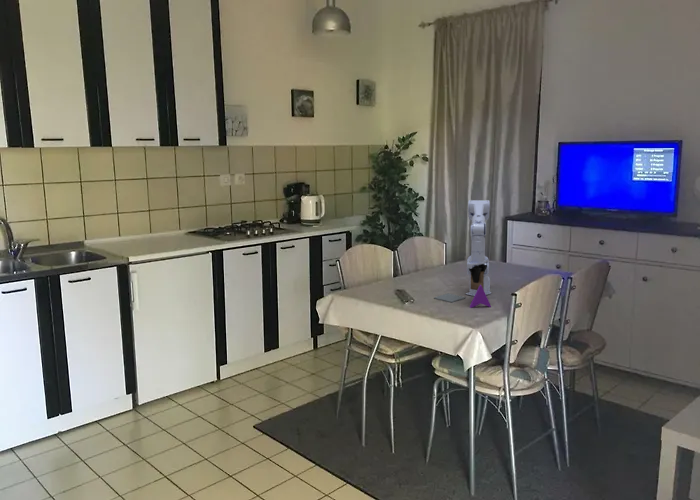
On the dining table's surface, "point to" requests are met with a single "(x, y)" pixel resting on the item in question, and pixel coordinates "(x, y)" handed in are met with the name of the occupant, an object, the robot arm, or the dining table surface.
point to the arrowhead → (480, 298)
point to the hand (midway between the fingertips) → (477, 281)
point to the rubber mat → (449, 297)
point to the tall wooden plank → (481, 282)
